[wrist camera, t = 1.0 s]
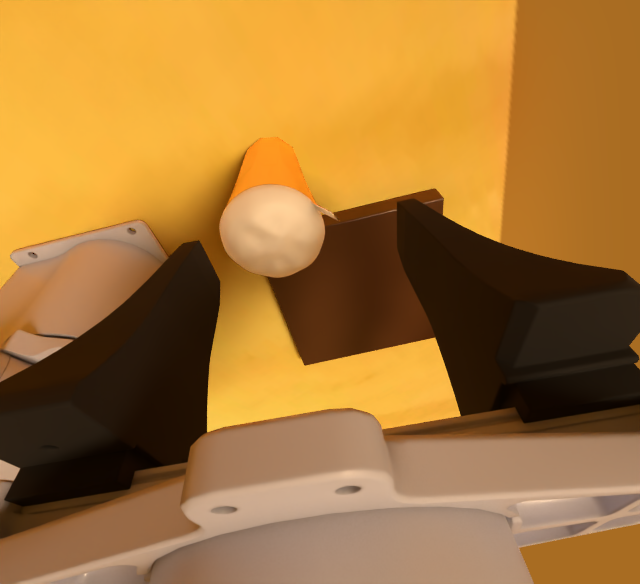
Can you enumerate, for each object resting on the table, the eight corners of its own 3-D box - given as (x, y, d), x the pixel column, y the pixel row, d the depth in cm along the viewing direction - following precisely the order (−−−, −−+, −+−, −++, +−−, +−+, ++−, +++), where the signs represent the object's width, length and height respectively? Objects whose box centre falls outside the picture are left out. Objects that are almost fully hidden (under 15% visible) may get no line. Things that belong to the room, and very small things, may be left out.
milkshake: (333, 161, 21) (368, 255, 14) (269, 210, 23) (269, 317, 15) (286, 95, 18) (298, 170, 11) (218, 157, 20) (189, 257, 13)
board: (303, 353, 34) (304, 366, 33) (254, 231, 24) (253, 243, 23) (430, 326, 33) (435, 337, 32) (435, 187, 23) (444, 198, 22)
